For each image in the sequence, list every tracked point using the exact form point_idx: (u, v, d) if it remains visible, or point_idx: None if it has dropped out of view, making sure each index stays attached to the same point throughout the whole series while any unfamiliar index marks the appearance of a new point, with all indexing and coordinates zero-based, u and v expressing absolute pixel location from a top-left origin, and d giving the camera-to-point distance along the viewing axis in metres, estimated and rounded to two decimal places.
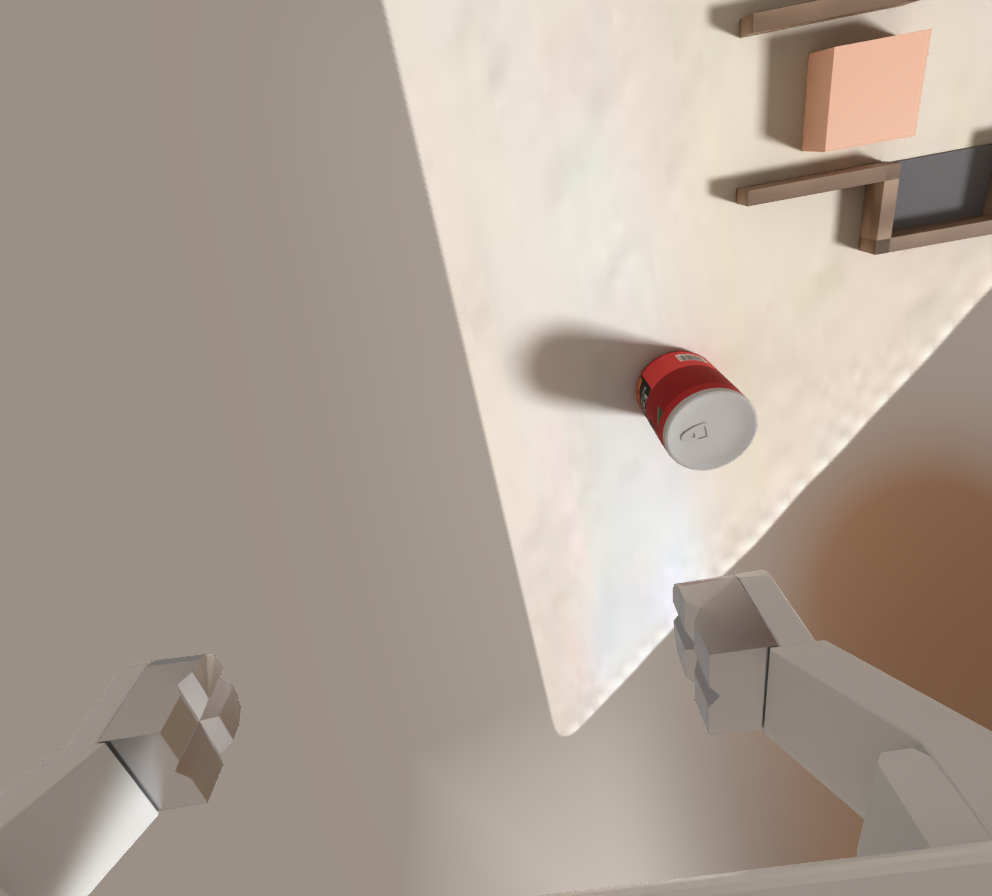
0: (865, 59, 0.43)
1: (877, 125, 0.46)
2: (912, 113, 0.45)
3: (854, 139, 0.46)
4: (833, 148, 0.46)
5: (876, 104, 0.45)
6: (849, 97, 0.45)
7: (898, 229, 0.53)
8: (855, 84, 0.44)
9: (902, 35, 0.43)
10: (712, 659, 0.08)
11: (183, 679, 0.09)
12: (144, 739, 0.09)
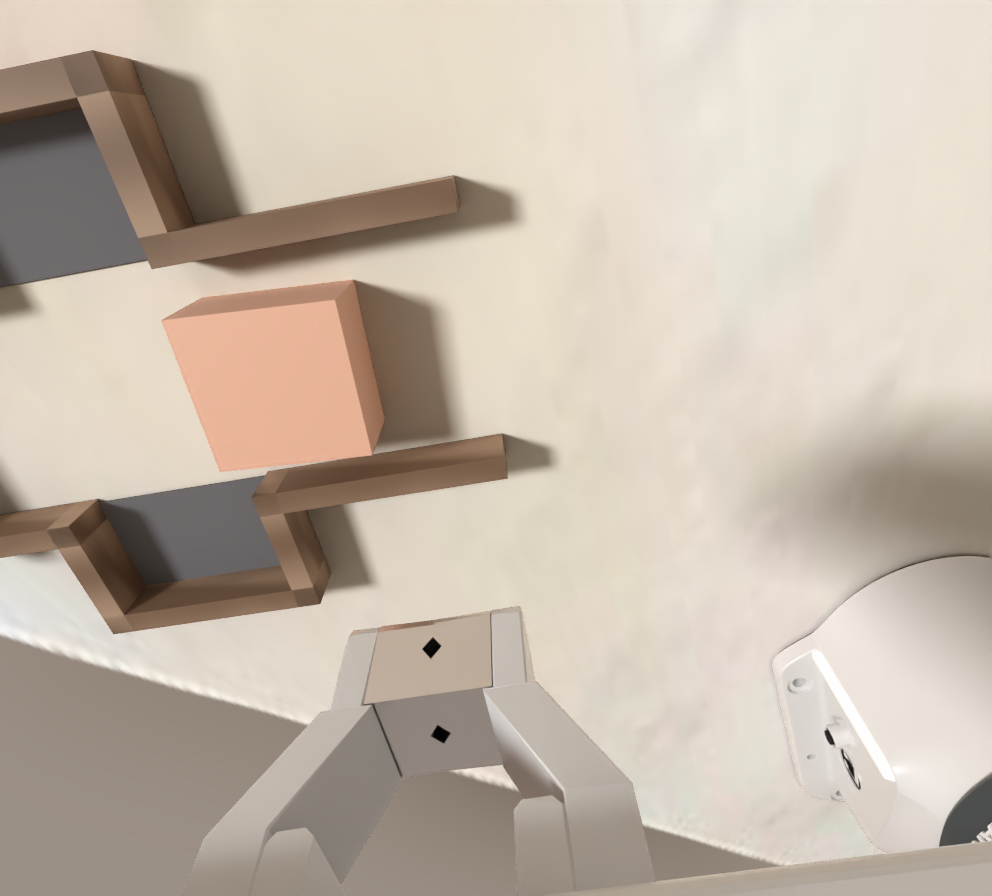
0: (313, 438, 0.26)
1: (247, 341, 0.24)
2: (187, 357, 0.24)
3: (282, 318, 0.23)
4: (319, 304, 0.23)
5: (264, 374, 0.24)
6: (320, 386, 0.25)
7: (62, 112, 0.23)
8: (315, 405, 0.25)
9: (264, 465, 0.26)
10: (430, 699, 0.08)
11: (425, 644, 0.09)
12: (409, 702, 0.08)
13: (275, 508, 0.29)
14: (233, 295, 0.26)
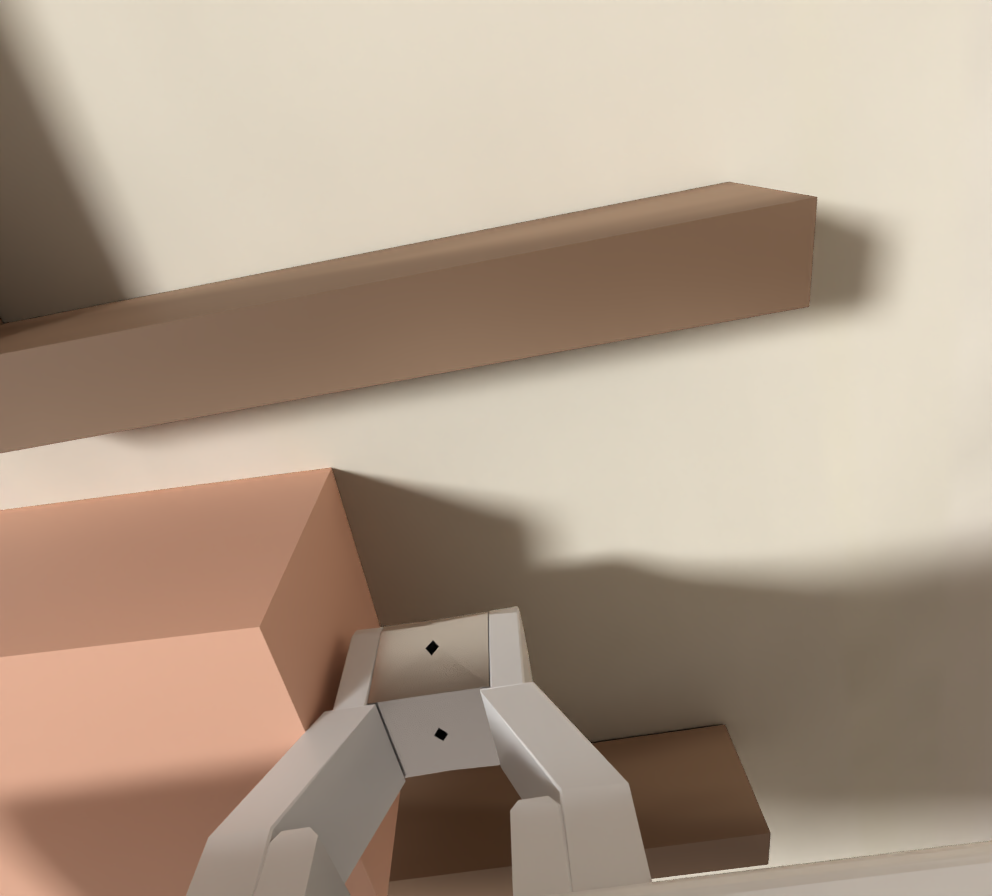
0: None
1: (5, 725, 0.08)
2: None
3: (101, 675, 0.07)
4: (211, 640, 0.07)
5: (74, 790, 0.09)
6: None
7: None
8: None
9: None
10: (428, 699, 0.08)
11: (427, 643, 0.09)
12: (412, 701, 0.08)
13: None
14: (28, 518, 0.10)
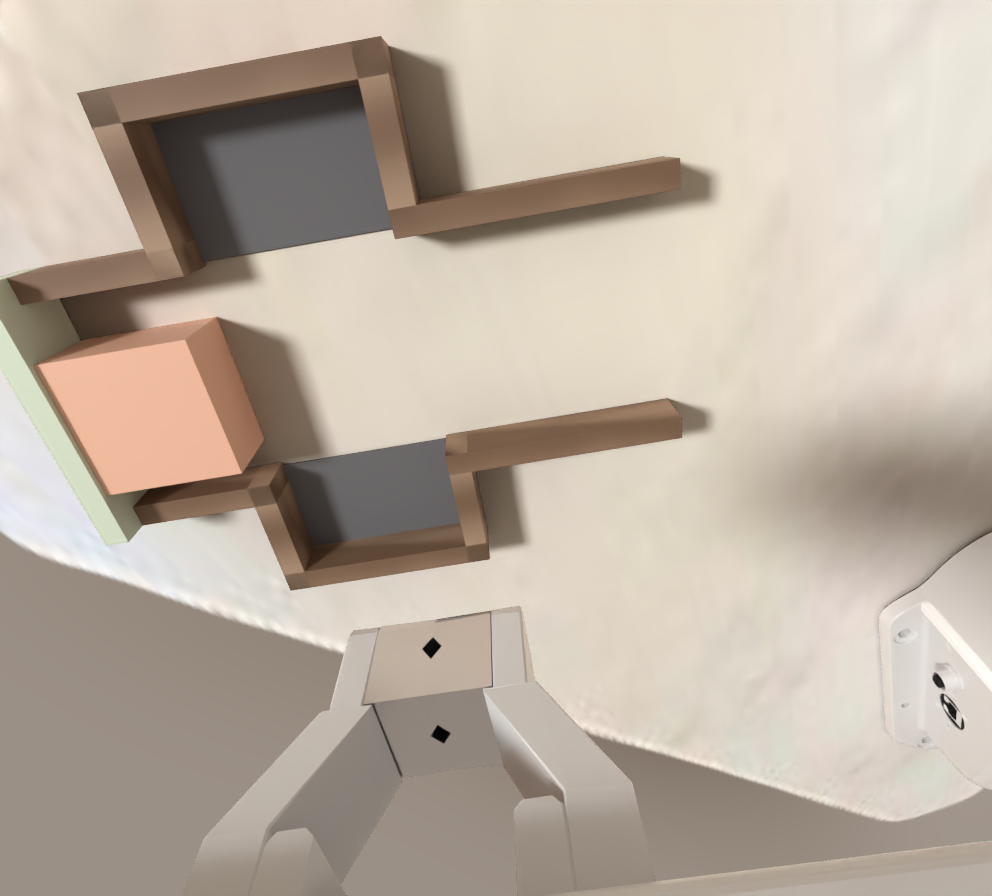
0: (185, 461, 0.29)
1: (112, 379, 0.27)
2: (61, 396, 0.27)
3: (141, 358, 0.26)
4: (171, 344, 0.26)
5: (132, 407, 0.27)
6: (185, 415, 0.28)
7: (316, 93, 0.25)
8: (183, 432, 0.28)
9: (145, 487, 0.29)
10: (431, 699, 0.08)
11: (424, 644, 0.09)
12: (409, 702, 0.08)
13: (465, 467, 0.31)
14: (109, 336, 0.29)
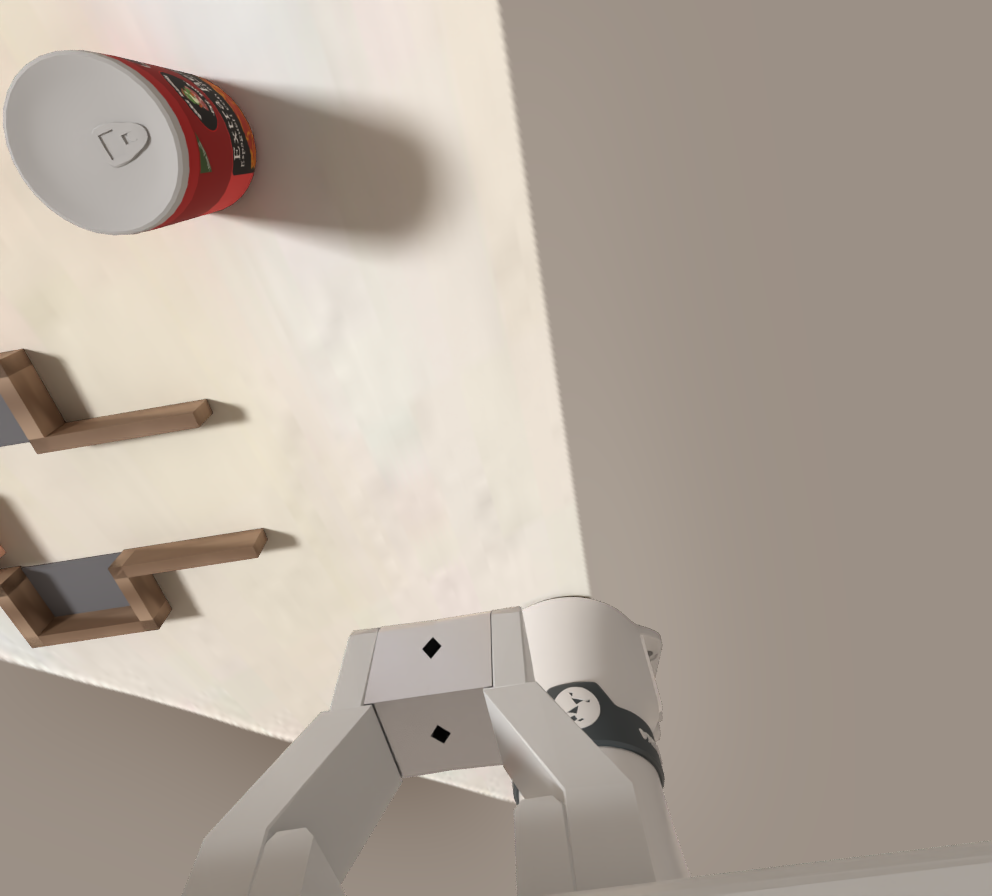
0: None
1: None
2: None
3: None
4: None
5: None
6: None
7: None
8: None
9: None
10: (431, 699, 0.08)
11: (424, 644, 0.09)
12: (408, 702, 0.08)
13: (123, 574, 0.49)
14: None
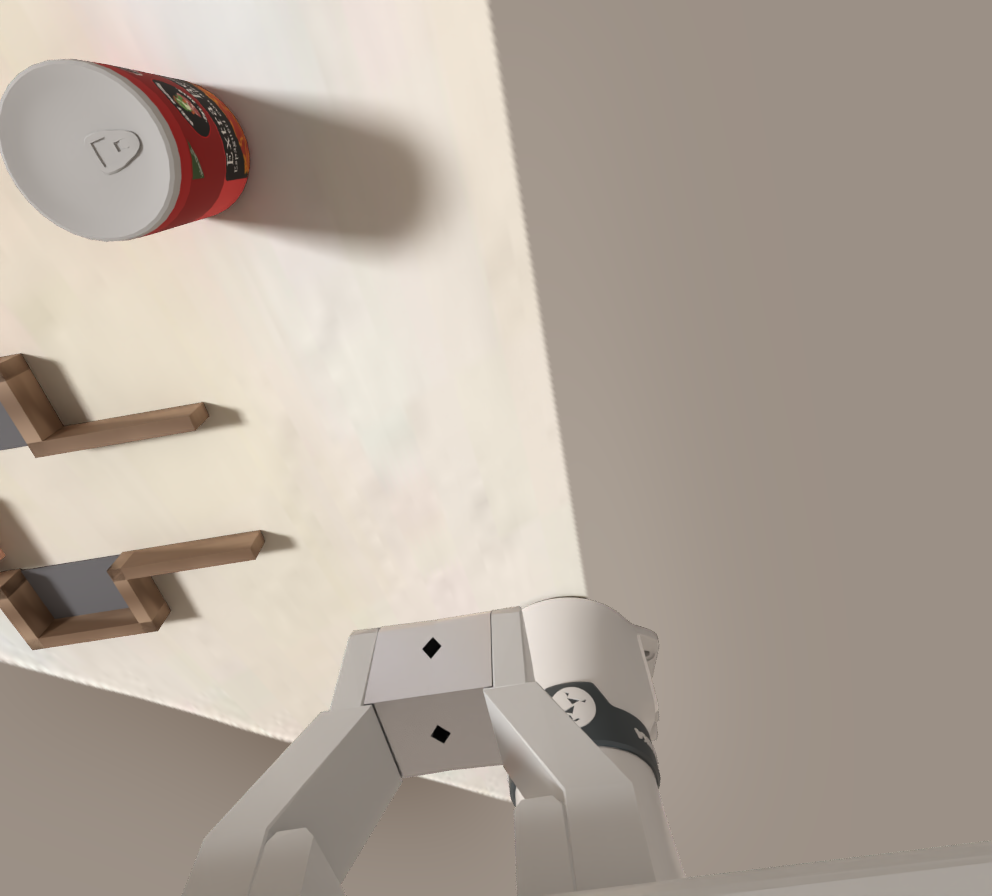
0: None
1: None
2: None
3: None
4: None
5: None
6: None
7: None
8: None
9: None
10: (430, 699, 0.08)
11: (424, 644, 0.09)
12: (408, 702, 0.08)
13: (121, 576, 0.49)
14: None
